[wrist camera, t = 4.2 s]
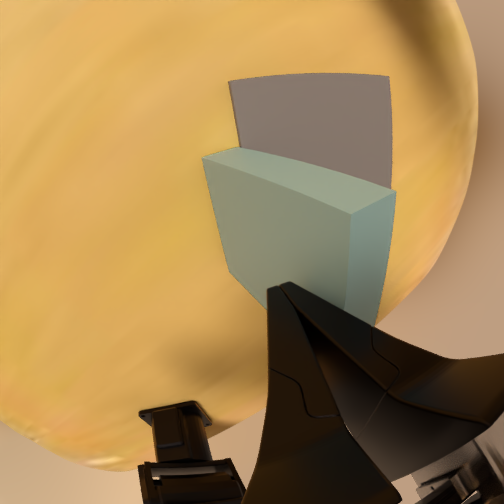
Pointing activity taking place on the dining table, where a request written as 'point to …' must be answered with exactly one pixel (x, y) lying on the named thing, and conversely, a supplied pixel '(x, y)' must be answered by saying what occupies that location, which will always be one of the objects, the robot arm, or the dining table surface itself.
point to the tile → (302, 228)
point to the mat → (319, 120)
